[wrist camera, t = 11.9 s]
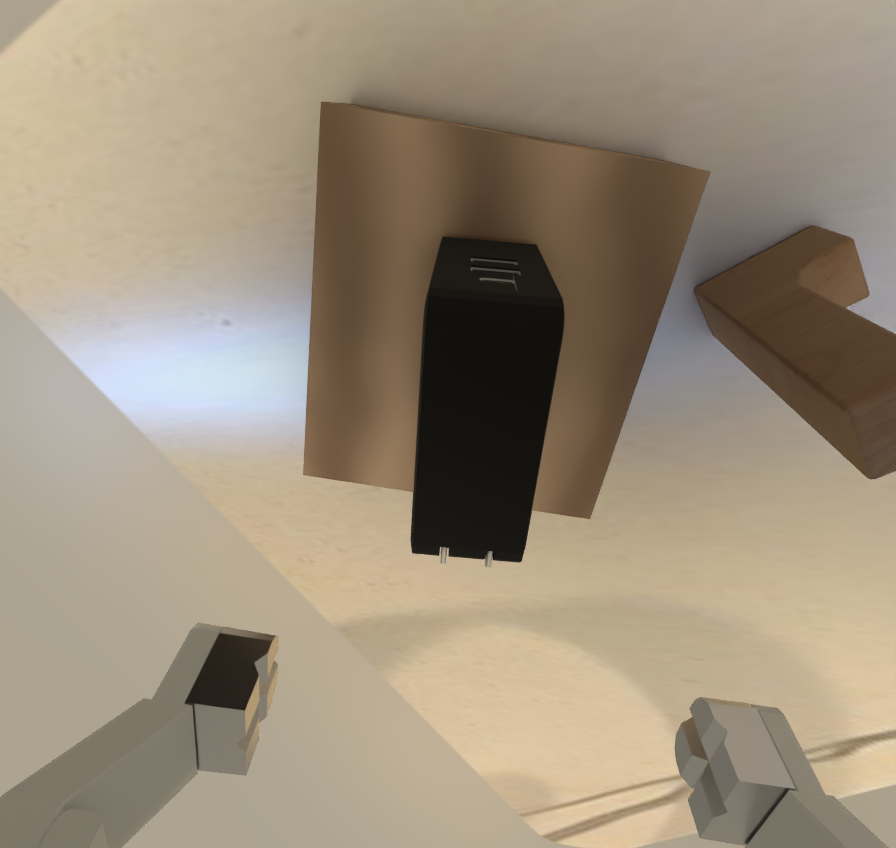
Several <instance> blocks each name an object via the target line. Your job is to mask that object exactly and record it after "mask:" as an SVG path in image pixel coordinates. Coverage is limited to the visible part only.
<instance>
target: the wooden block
mask: <svg viewBox="0 0 896 848" xmlns="http://www.w3.org/2000/svg"><path fill="white" fill-rule="evenodd" d="M694 293H695V295H696V297H697V300H698V302H699V304H700V307H701V309H702V311H703V314H704V316H705V318H706V321H707V323H708V325H709V328H710V330H711V332H712V335H713V336H714V337H716V338H717V339H718V340H719V341H720V342H721V343H722V344H723V345H724V346H725V347H726V348H727V349H729V350H730V351H731V352H732V353H733V354H734V355H735V356H736V357H737V358H738V359H739V360H741V361H742V362H743V363H744V364H745V365H746V366H747V367H748V368H749V369H750V370H751V371H752V372H753V373H755V374H756V375H757V376H758V377H759V378H760V379H761V380H762V381H763V382H764V383H765V384H766V385H768V386H769V387H770V388H771V389H772V390H773V391H774V392H775V393H776V394H777V395H778V396H779V397H780V398H782V399H783V400H784V401H785V402H786V403H787V404H788V405H789V406H790V407H791V408H792V409H793V410H795V411H796V412H797V413H798V414H799V415H800V416H801V417H802V418H803V419H804V420H805V421H806V422H807V423H809V424H810V425H811V426H812V427H813V428H814V429H815V430H816V431H817V432H818V433H819V434H820V435H822V436H823V437H824V438H825V439H826V440H827V441H828V442H829V443H830V444H831V445H832V446H833V447H834V448H836V449H837V450H838V451H839V452H840V453H841V454H842V455H843V456H844V457H845V458H846V459H847V460H849V461H850V462H851V463H852V464H853V465H854V466H855V467H856V468H857V469H858V470H859V471H860V472H861V473H863V474H864V475H865V476H866V477H867V478H869V479H877V478H879V477H882V476H884V475H887V474H889V473H892V472H894V471H896V334H894V333H892V332H890V331H888V330H886V329H884V328H882V327H880V326H878V325H876V324H875V323H873V322H871V321H869V320H867V319H865V318H863V317H861V316H859V315H857V314H855V313H854V312H852V311H850V310H848V309H846V307H848V306H850V305H852V304H854V303H856V302H858V301H860V300H862V299H864V298H866V297H868V296H869V290H868V287H867V283H866V280H865V277H864V273H863V270H862V266H861V263H860V260H859V256H858V253H857V250H856V246H855V243H854V240H853V239H852V238H851V237H848V236H844V235H841V234H838V233H835V232H832V231H829V230H826V229H823V228H820V227H817V226H811V227H809V228H807V229H805V230H803V231H801V232H800V233H798V234H796V235H794V236H792V237H790V238H788V239H786V240H784V241H783V242H781V243H779V244H777V245H775V246H773V247H771V248H769V249H767V250H765V251H764V252H762V253H760V254H758V255H756V256H754V257H752V258H750V259H749V260H747V261H745V262H743V263H741V264H739V265H737V266H735V267H733V268H732V269H730V270H728V271H726V272H724V273H722V274H720V275H718V276H717V277H715V278H713V279H711V280H709V281H707V282H705V283H703V284H701V285H700V286H698V287H696V288H695V291H694Z"/></svg>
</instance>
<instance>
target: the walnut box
mask: <svg viewBox="0 0 896 848" xmlns="http://www.w3.org/2000/svg"><path fill="white" fill-rule="evenodd" d="M709 174H710V172H708V171H704V170H700V169H696V168H692V167H688V166H684V165H680V164H676V163H672V162H668V161H663V160H657V159H652V158H646V157H641V156H635V155H630V154H624V153H619V152H613V151H608V150H602V149H596V148H591V147H585V146H580V145H574V144H569V143H563V142H558V141H552V140H547V139H541V138H536V137H530V136H525V135H519V134H513V133H508V132H502V131H497V130H491V129H486V128H480V127H475V126H469V125H464V124H458V123H453V122H447V121H442V120H436V119H430V118H425V117H419V116H414V115H408V114H403V113H397V112H392V111H386V110H381V109H375V108H370V107H364V106H359V105H353V104H345V103H331V102H321V114H320V135H319V156H318V177H317V198H316V219H315V240H314V260H313V281H312V302H311V323H310V344H309V365H308V386H307V407H306V428H305V449H304V470H303V475H307V476H314V477H320V478H327V479H333V480H340V481H346V482H353V483H359V484H366V485H372V486H379V487H385V488H392V489H398V490H405V491H411V492H413V490H414V472H415V455H416V438H417V420H418V403H419V385H420V368H421V351H422V333H423V318H424V307H425V300H426V296H427V292H428V288H429V284H430V280H431V277H432V273H433V269H434V265H435V261H436V257H437V253H438V249H439V246H440V243H441V240H442V236H443V237H455V238H467V239H478V240H490V241H501V242H513V243H525V244H536V245H537V246H538V248H539V250H540V253H541V255H542V257H543V259H544V261H545V263H546V265H547V267H548V269H549V271H550V273H551V275H552V278H553V280H554V282H555V284H556V286H557V288H558V290H559V292H560V294H561V296H562V298H563V304H564V315H565V322H564V333H563V339H562V345H561V351H560V356H559V362H558V367H557V373H556V379H555V384H554V390H553V395H552V401H551V406H550V412H549V418H548V423H547V429H546V434H545V440H544V446H543V451H542V457H541V462H540V468H539V474H538V479H537V485H536V490H535V496H534V501H533V507H532V510H534V511H541V512H547V513H554V514H560V515H567V516H573V517H580V518H586V519H590V517H591V515H592V512H593V509H594V506H595V503H596V500H597V497H598V494H599V491H600V489H601V486H602V483H603V480H604V477H605V474H606V471H607V468H608V465H609V463H610V460H611V457H612V454H613V451H614V448H615V445H616V442H617V440H618V437H619V434H620V431H621V428H622V425H623V422H624V419H625V416H626V414H627V411H628V408H629V405H630V402H631V399H632V396H633V393H634V390H635V388H636V385H637V382H638V379H639V376H640V373H641V370H642V367H643V364H644V362H645V359H646V356H647V353H648V350H649V347H650V344H651V341H652V338H653V336H654V333H655V330H656V327H657V324H658V321H659V318H660V315H661V312H662V310H663V307H664V304H665V301H666V298H667V295H668V292H669V289H670V286H671V284H672V281H673V278H674V275H675V272H676V269H677V266H678V263H679V260H680V258H681V255H682V252H683V249H684V246H685V243H686V240H687V237H688V234H689V232H690V229H691V226H692V223H693V220H694V217H695V214H696V211H697V208H698V206H699V203H700V200H701V197H702V194H703V191H704V188H705V185H706V183H707V180H708V177H709Z"/></svg>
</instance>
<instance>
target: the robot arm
mask: <svg viewBox="0 0 896 848" xmlns="http://www.w3.org/2000/svg"><path fill="white" fill-rule="evenodd" d="M277 651H278V636H275V635H269V634H263V633H257V632H252V631H246V630H240V629H235V628H229V627H222V626H216V625H210V624H204V623H197V624H196V625H195V626H194V627H193V628H192V630H190V632H189V634H188V636H187V638H186V639H185V641H184V643H183V645H182V647H181V648H180V650H179V652H178V654H177V656H176V658H175V659H174V661H173V663H172V665H171V666H170V668H169V670H168V672H167V673H166V675H165V677H164V679H163V681H162V682H161V684H160V686H159V688H158V690H157V691H156V693H155V695H154V697H153V699H146V698H143V699H142V700H141V701H139V702H138V703H136V704H135V705H133V706H132V707H130V708H129V709H128V710H126V711H125V712H123V713H122V714H120V715H119V716H117V717H116V718H114V719H113V720H111V721H110V722H108V723H107V724H105V725H104V726H103V727H101V728H100V729H98V730H97V731H95V732H94V733H92V734H91V735H89V736H88V737H86V738H85V739H84V740H82V741H81V742H79V743H78V744H76V745H75V746H74V747H72V748H70V749H69V750H68V751H66V752H65V753H63V754H62V755H60V756H59V757H57V758H56V759H54V760H53V761H52V762H50V763H48V764H47V765H46V766H44V767H43V768H41V769H40V770H38V771H37V772H36V773H34V774H32V775H31V776H30V777H28V778H27V779H25V780H24V781H22V782H21V783H19V784H18V785H16V786H15V787H13V788H12V789H11V790H9V791H8V792H6V793H5V794H3V795H2V796H1V797H0V848H121V847H123V845H125V844H126V843H127V842H128V841H129V840H130V839H131V838H132V837H133V836H134V835H135V834H136V833H137V832H138V831H139V830H140V829H141V828H142V827H143V826H144V825H145V824H146V823H147V822H148V821H149V820H150V819H151V818H152V817H153V816H154V815H155V814H157V813H158V812H159V810H161V809H162V808H163V807H164V806H165V805H166V804H167V803H168V802H169V801H170V800H171V799H172V798H173V797H174V796H175V795H176V794H177V793H178V792H179V791H180V790H181V789H182V788H183V787H184V786H185V785H186V784H187V783H188V782H189V781H191V780H192V778H194V777H195V776H196V775H197V773H198V772H197V770H200V771H209V772H218V773H228V774H238V775H246V774H247V771H248V768H249V766H250V763H251V760H252V757H253V754H254V751H255V749H256V746H257V743H258V740H259V723H260V722H261V721H262V720H263V719H264V718H265V717H267V714H268V711H269V708H270V705H271V703H272V699H273V695H274V691H275V687H276V681H277V674H278V664H277V663H276V662H275V661H274V659H275V656H276V654H277ZM690 711H691V714H692V718H690V719H688V720H686V721H684V722H683V723H681V725H680V727H679V729H678V731H677V733H676V740H675V756H676V762H677V766H678V769H679V773H680V775H681V777H682V778H683V779H684V780H685V781H686V782H687V783H688V785H689V786H690V787H691V788H692V790H691V793H690V795H689V798H688V802H689V805H690V808H691V812H692V815H693V818H694V821H695V824H696V827H697V831H698V834H699V837H700V838H703V839H708V840H714V841H720V842H726V843H732V844H738V845H744V846H746V847H745V848H888V847H887V846H886V845H885V844H884V843H883V842H882V841H881V840H880V839H879V838H878V837H877V836H875V835H874V834H873V833H872V832H871V831H870V830H869V829H868V828H867V827H866V826H865V825H864V824H863V823H862V822H860V820H858V819H857V818H856V817H855V816H854V815H853V814H852V813H851V812H850V811H849V810H848V809H847V808H846V807H844V806H843V805H842V804H841V803H840V802H839V801H838V800H837V799H836V798H835V797H834V796H830V795H825V793H824V791H823V789H822V787H821V785H820V783H819V781H818V779H817V777H816V775H815V773H814V771H813V769H812V768H811V766H810V764H809V762H808V760H807V758H806V756H805V754H804V752H803V750H802V748H801V746H800V744H799V742H798V741H797V739H796V737H795V735H794V733H793V731H792V729H791V727H790V725H789V723H788V721H787V719H786V717H785V716H784V714H783V713H782V712H781V711H780V710H779V709H778V708H773V707H766V706H759V705H752V704H748V703H742V702H735V701H727V700H719V699H712V698H704V697H700V698H698V699H696V700H694V702H693V704H692V705H691V707H690Z"/></svg>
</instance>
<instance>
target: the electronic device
mask: <svg viewBox="0 0 896 848" xmlns="http://www.w3.org/2000/svg"><path fill="white" fill-rule="evenodd" d="M564 322H565V315H564V304H563V298H562V296H561V294H560V292H559V290H558V288H557V286H556V284H555V282H554V280H553V278H552V275H551V273H550V271H549V269H548V267H547V265H546V263H545V261H544V259H543V257H542V255H541V253H540V250H539V248H538V246H537V245H536V244H525V243H513V242H501V241H490V240H478V239H467V238H455V237H443V236H442V240H441V243H440V246H439V249H438V253H437V257H436V261H435V265H434V269H433V273H432V277H431V280H430V284H429V288H428V292H427V296H426V300H425V307H424V318H423V333H422V351H421V368H420V385H419V403H418V420H417V438H416V455H415V472H414V490H413V507H412V525H411V547H412V553H415V554H427V555H438V556H439V552H440V547H442V549H441V563H446V555H447V548H449V556H450V557H462V558H474V559H485V566H486V567H491V561H492V556H493V560H497V561H509V562H521V561H522V557H523V554H524V550H525V546H526V541H527V535H528V529H529V524H530V518H531V513H532V507H533V501H534V496H535V490H536V485H537V479H538V474H539V468H540V462H541V457H542V451H543V446H544V440H545V434H546V429H547V423H548V418H549V412H550V406H551V401H552V395H553V390H554V384H555V379H556V373H557V367H558V362H559V356H560V351H561V345H562V339H563V333H564Z"/></svg>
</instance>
